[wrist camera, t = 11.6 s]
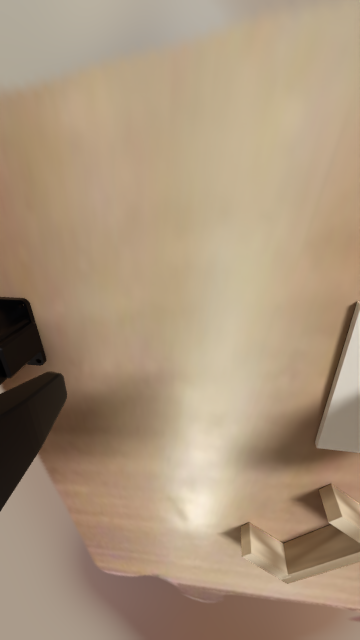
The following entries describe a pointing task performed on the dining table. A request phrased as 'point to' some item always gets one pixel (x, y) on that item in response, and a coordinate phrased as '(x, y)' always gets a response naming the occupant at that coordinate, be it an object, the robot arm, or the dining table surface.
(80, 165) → the dining table surface
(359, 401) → the white mat
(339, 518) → the bottle cradle
